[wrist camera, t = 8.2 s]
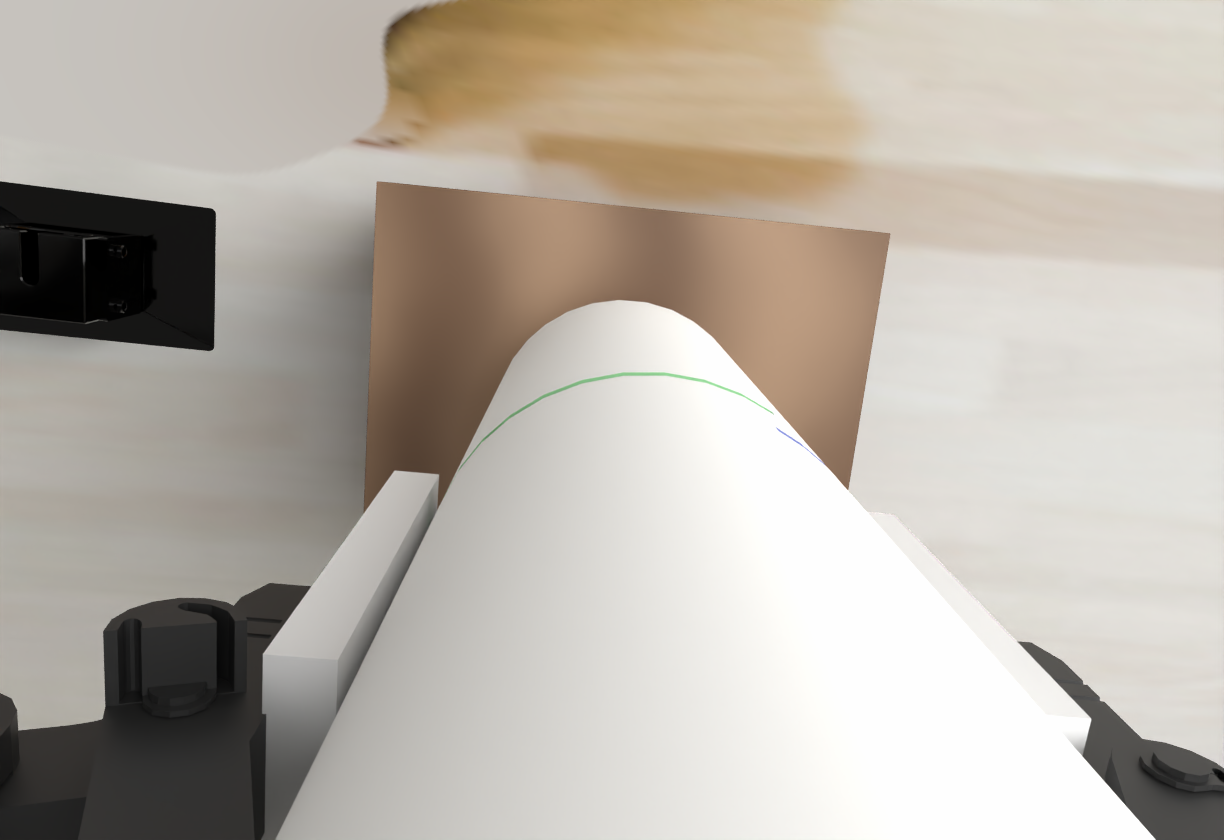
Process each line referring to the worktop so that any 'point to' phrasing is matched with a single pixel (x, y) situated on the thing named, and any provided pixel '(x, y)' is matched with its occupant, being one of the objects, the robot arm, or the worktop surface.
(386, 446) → the brown flat-topped stand
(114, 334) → the black box
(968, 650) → the cylindrical container
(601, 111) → the worktop surface
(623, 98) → the worktop surface
